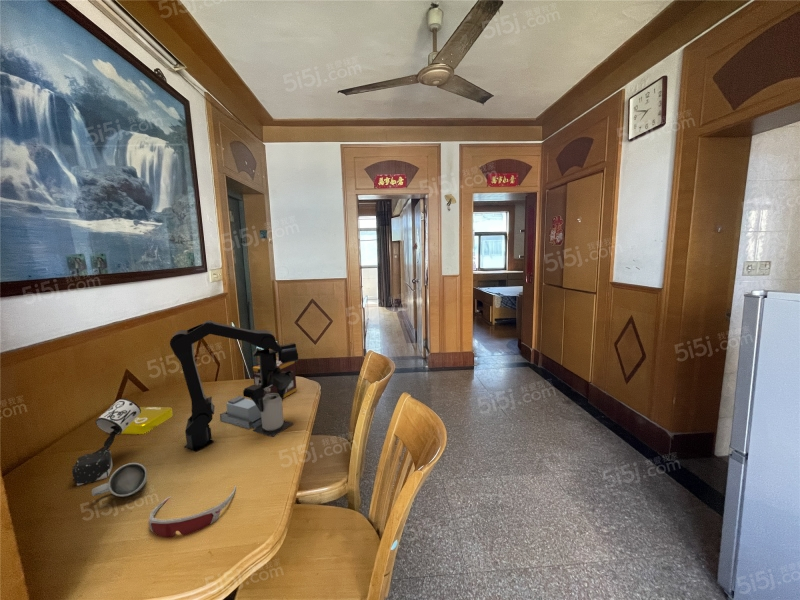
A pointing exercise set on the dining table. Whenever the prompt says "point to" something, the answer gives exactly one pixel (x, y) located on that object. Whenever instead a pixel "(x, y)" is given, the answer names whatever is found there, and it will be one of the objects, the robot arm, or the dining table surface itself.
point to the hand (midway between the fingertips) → (271, 406)
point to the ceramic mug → (124, 481)
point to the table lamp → (101, 460)
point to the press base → (253, 424)
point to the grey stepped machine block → (243, 409)
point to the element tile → (148, 419)
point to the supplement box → (283, 367)
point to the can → (272, 412)
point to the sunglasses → (186, 520)
